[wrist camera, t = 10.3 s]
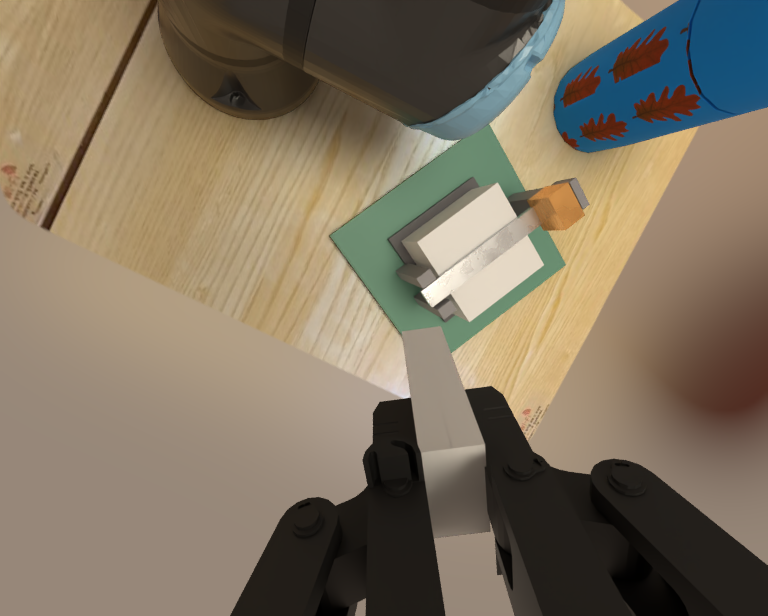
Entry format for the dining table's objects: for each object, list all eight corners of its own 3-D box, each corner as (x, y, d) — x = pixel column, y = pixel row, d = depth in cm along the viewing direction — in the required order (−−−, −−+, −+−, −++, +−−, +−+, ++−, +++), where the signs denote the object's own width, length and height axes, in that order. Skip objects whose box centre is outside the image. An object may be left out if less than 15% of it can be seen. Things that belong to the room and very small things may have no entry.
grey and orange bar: (414, 284, 39) (426, 289, 36) (544, 187, 40) (568, 182, 37) (434, 312, 40) (447, 320, 36) (559, 216, 41) (585, 215, 38)
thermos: (590, 173, 50) (864, 115, 26) (535, 110, 47) (785, -20, 23) (645, 104, 50) (970, -18, 26) (592, 37, 47) (904, -171, 23)
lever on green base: (329, 235, 44) (339, 235, 34) (483, 123, 46) (539, 90, 35) (425, 368, 50) (460, 404, 39) (560, 264, 51) (629, 271, 41)
